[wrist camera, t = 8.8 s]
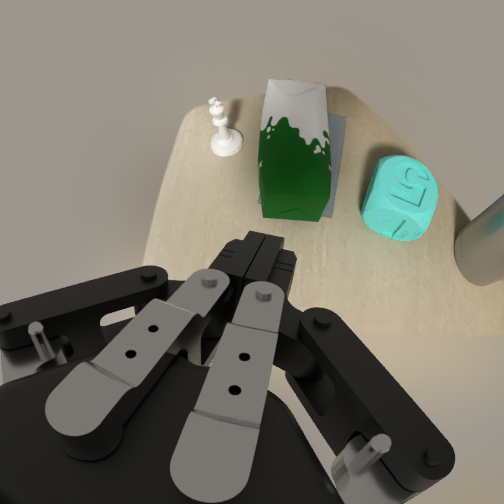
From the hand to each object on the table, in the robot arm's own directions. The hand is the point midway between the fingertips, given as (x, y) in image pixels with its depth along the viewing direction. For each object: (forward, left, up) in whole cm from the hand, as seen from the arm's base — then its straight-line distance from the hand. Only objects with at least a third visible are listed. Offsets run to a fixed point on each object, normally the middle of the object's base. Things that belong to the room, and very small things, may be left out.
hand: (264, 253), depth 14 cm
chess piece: (+13, -22, -25) cm, 36 cm away
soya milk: (+1, -11, -21) cm, 24 cm away
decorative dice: (-12, -16, -25) cm, 33 cm away
